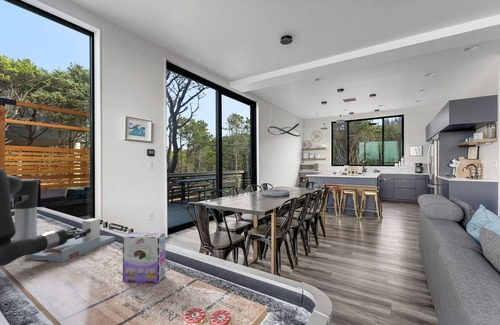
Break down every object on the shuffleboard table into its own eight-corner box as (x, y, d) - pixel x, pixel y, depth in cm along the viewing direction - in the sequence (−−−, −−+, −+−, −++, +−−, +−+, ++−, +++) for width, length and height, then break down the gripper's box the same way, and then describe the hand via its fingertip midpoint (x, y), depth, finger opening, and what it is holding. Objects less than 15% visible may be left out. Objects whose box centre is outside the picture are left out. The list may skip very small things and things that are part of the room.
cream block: (90, 240, 123) (90, 221, 123) (82, 239, 124) (82, 220, 124) (99, 237, 129) (99, 218, 129) (91, 236, 130) (91, 218, 130)
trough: (62, 262, 100) (62, 250, 100) (25, 258, 104) (25, 247, 104) (114, 240, 130) (114, 231, 130) (84, 237, 133) (84, 229, 133)
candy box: (165, 276, 89) (166, 232, 89) (158, 284, 83) (158, 237, 83) (131, 274, 90) (132, 231, 90) (121, 281, 84) (122, 235, 84)
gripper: (65, 232, 104) (95, 223, 120) (38, 230, 107) (71, 221, 123) (64, 249, 104) (95, 237, 120) (38, 246, 107) (71, 236, 123)
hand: (83, 229), depth 122 cm, fingers open, 8 cm apart
